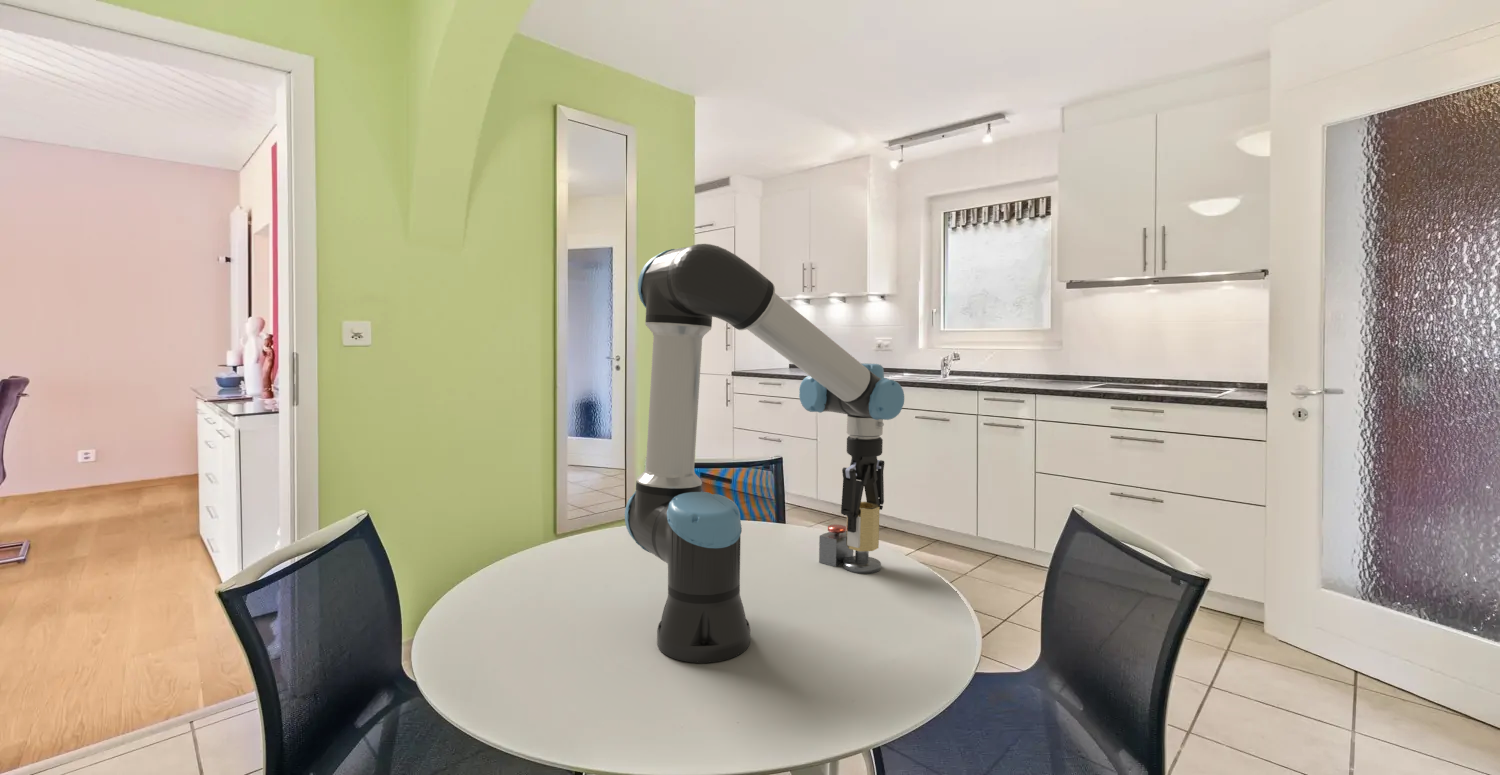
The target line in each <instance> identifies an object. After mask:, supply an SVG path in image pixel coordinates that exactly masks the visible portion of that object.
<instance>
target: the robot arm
mask: <svg viewBox="0 0 1500 775" xmlns="http://www.w3.org/2000/svg"><path fill="white" fill-rule="evenodd" d="M637 292H638V297H639V299H640V301H641V303H642V305H643V306H644V308H645V326H646V327H647V328H648V329H649V331H651V333H652V336H653V337H652V338H653V339H652V340H653V342H652V356H651V357H652V358H651V371H650V372H651V373H650V374H651V375H650V391H649V407H648V408H649V409H648V423H647V424H648V426H647V442H646V457H645V458H646V460H645V469H644V471H643V472H641V473H640V474H639V475H638V476H637V477H636V482H635V490H634V493H633V494H632V495H630V497H629V499H628V501H627V503H626V505H625V510H624V523H625V527H626V530H627V532H628V535H629V536H630V537H631V538H632V539H633V541H635V544H637V545H638V546H640V548H641V549H642V550H644V551H646V552H648V553H650V554H652V555H654V556H655V557H657V558H658V559H660V560H662V561H663V562H664V563H666V564H667V598H666V602H665V604H664V607H663V611H662V615H661V619H660V621H659V623H658V626H657V630H656V644H657V648H658V649H659V650H660V652H662V653H663V655H666V656H667V657H669V658H672V659H674V660H677V661H681V662H685V663H686V662H688V663H695V664H697V663H698V664H699V663H700V664H701V663H702V664H703V663H705V664H707V663H718V662H721V661H726V660H730V659H732V658H736V657H737V656H740V655H741V654H742V653H745V651H746V650H747V649H748V648H749V646H750V644H751V626H750V623H749V621H748V620H747V617H746V612H745V607H744V604H743V602H742V601H743V600H742V598H741V589H740V588H741V534H742V523H741V513H740V512H741V511H740V509H739V507H738V505H737V504H736V503H735V502H734V501H733V500H732V499H730V498H729V497H727V496H724V495H721V494H718V493H714V494H712V493H711V492H708V491H707V492H706V491H702V486H703V481H702V480H701V478H700V477H699V476H698V475H697V474H696V471H695V461H696V446H697V444H696V443H697V427H698V415H699V414H698V412H699V397H700V396H699V394H700V381H701V380H700V378H701V367H702V365H701V364H702V349H703V348H702V346H703V338H704V336H706V334H708V333H709V332H710V331H711V330H712V328H713V326H712V325H713V318H717V319H719V320H722V321H724V322H725V323H728V324H729V325H730V326H732V327H734V329H736V330H738V331H744V330H747V331H748V332H750V333H751V334H753V336H755V337H757V338H758V339H759V340H760V341H762V342H763V343H765V344H766V345H768V346H769V347H770V348H771V349H773V350H774V351H775V352H777V353H778V354H780V356H782V357H784V358H785V359H786V360H788V361H789V362H791V363H792V364H793V365H795V367H797V368H798V369H799V370H801V371H802V372H804V373H805V374H807V376H806V377H805V376H804V378H803V379H802V381H801V383H800V384H799V387H798V388H799V391H798V392H799V396H798V397H799V401H800V404H801V405H802V407H803V408H804V410H806V411H807V412H810V413H823V412H832V413H837V414H843V415H844V414H845V415H847V417H846V420H847V421H846V434H847V435H848V436H847V437H846V454H847V455H849V456H850V457H851V460H850V464H849V466H848V467H843V468H842V472H841V473H842V493H841V495H842V496H841V507H840V514H841V515H843V516H846V518H847V517H848V521H847V520H846V531H847V545H848V546H852V547H856V548H859V547H860V528H861V517H859V516H858V514H859V509H860V504H861V502H862V499H863V492H864V494H865V499H866V502H870V503H875V504H877V505H878V506H879V507H880V509H879V511H881V510H882V511H883V508H884V506H883V505H884V502H885V494H884V492H885V488H884V470H885V469H884V468H885V461H884V460H882V459H878V457H880V456H882V455H883V441H884V440H883V438H882V437H881V436H882V435H883V427H884V425H885V424H884V421H885V420H887V421H889V420H893V419H895V418H896V417H897V416H899V414H900V413H901V411H902V410H903V407H904V405H905V404H904V403H905V394H904V389H903V387H902V385H901V384H900V383H899V382H898V381H896V380H894V379H889V378H887V377H885V370H884V367H883V365H881V364H879V363H865V362H864V363H861V362H860V361H859V360H857V359H856V358H855V357H853V356H852V354H850V353H849V352H848V351H846V350H845V349H844V348H843V347H841V346H840V345H839V344H838V343H837V342H835V341H834V340H833V339H832V338H831V337H829V335H827V334H826V333H825V332H823V331H822V330H821V329H820V328H818V327H817V326H816V325H814V323H812V322H811V321H810V320H808V319H807V317H805V316H803V314H801V313H800V312H799V311H798V310H797V309H795V308H794V307H793V306H791V305H790V304H789V303H788V302H786V301H785V300H784V299H783V298H782V297H780V296H779V295H778V294H777V293H776V288H775V285H774V283H773V282H772V281H771V280H769V279H768V277H766V276H765V275H764V274H763V273H761V272H760V271H758V270H757V269H756V268H755V267H753V266H752V265H751V264H750V263H748V262H747V261H746V260H743V259H742V258H741V257H740V256H738V255H737V254H735V253H733V252H731V251H729V250H727V249H726V248H723V247H721V246H719V245H715V244H711V243H698V244H693V245H690V246H685V247H681V248H680V247H679V248H671V249H667V250H665V251H662V252H660V253H658V254H657V255H654V256H653V257H652V258H650V259H648V261H647V262H646V263H645V264H644V265H643V267H642V268H641V270H640V274H639V277H638V281H637ZM847 524H848V525H847ZM847 526H848V527H847Z"/></svg>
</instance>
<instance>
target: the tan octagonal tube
mask: <svg viewBox="0 0 1500 775" xmlns="http://www.w3.org/2000/svg"><path fill="white" fill-rule="evenodd" d="M879 509H880V507H879V506H878V505H877V504H875V503H870V502H867V501H861V504H860V509H859V514H858V516H859V517H861V528H860V547H859V548H856V547H852V546H848V545H847V533H846V545H847V547H848V548H849V549H852V550H853V551H869V552H873V551H875V550H877V549H880V548H879V546H880V545H879V543H880V539H879V537H880V510H879ZM847 521H848V517H847V516H846V522H847ZM847 525H848V524H847V523H846V528H847V527H848V526H847Z"/></svg>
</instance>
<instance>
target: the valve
mask: <svg viewBox="0 0 1500 775" xmlns="http://www.w3.org/2000/svg"><path fill="white" fill-rule="evenodd" d="M827 531H828V532H825V533H823V534H820V535H819V543H818V545H819V548H818V552H819V554H818V562H819V563H820V564H824V565H827V566H831V567H834V568H837V567H839V566H841V565H842V568H843V569H844V570H846V571H847V572H850V573H854V574H859V575H860V574H861V575H862V574H863V575H867V574H875V573H878V572H879V571H881V567H882V566H881V564H882V563H881V561H880V560H879V559H878V558H875V557H872V556H870V555H869V552H870V551H856V550H852V549H849V548H848V547H847V545H846V533H847V526H845V525H843V524H836V523H835V524H829V525H827ZM854 551H855V552H854ZM854 553H855V555H854Z"/></svg>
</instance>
